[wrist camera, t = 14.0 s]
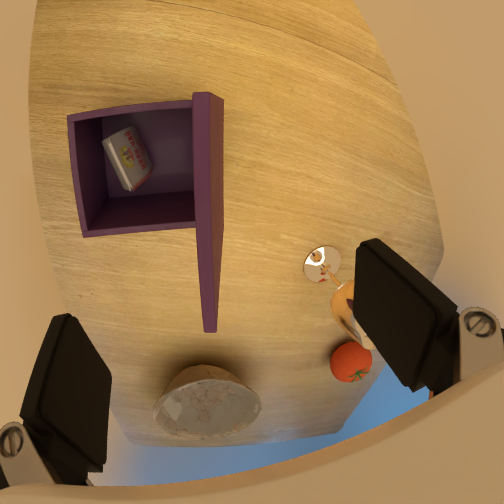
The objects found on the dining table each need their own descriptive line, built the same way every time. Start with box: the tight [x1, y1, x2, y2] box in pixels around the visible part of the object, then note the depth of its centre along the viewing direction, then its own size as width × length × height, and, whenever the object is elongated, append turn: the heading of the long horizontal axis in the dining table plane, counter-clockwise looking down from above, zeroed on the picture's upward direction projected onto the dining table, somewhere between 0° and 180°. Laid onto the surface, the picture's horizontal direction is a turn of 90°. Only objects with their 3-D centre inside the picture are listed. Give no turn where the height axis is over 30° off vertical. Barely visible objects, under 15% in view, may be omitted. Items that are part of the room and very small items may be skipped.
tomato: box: [330, 342, 372, 383], centre depth 64 cm, size 10×10×10 cm
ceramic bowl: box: [153, 364, 261, 440], centre depth 58 cm, size 22×23×10 cm
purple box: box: [67, 100, 196, 238], centre depth 34 cm, size 16×14×13 cm
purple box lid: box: [192, 92, 224, 333], centre depth 22 cm, size 16×14×1 cm
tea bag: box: [101, 125, 154, 191], centre depth 33 cm, size 4×7×10 cm, turn 19°
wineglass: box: [304, 246, 376, 350], centre depth 46 cm, size 8×8×20 cm
